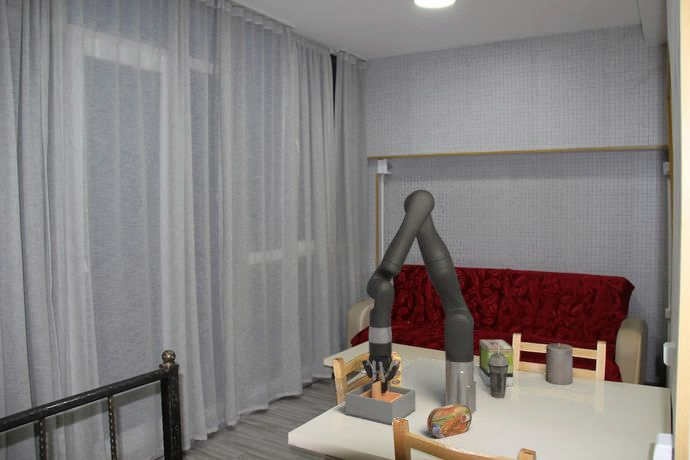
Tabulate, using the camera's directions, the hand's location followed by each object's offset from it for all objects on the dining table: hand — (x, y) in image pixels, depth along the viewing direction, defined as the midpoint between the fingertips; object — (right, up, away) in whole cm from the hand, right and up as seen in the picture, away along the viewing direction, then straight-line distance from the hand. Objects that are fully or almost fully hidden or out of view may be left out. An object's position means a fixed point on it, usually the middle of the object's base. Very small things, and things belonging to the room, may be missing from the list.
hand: (380, 391), depth 187 cm
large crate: (0, -7, 0) cm, 7 cm away
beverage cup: (+43, -6, +16) cm, 46 cm away
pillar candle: (+71, -6, +33) cm, 79 cm away
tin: (+19, -8, -18) cm, 27 cm away
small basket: (0, -6, 0) cm, 6 cm away
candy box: (+6, -7, +16) cm, 18 cm away
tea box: (+47, -6, +35) cm, 59 cm away
